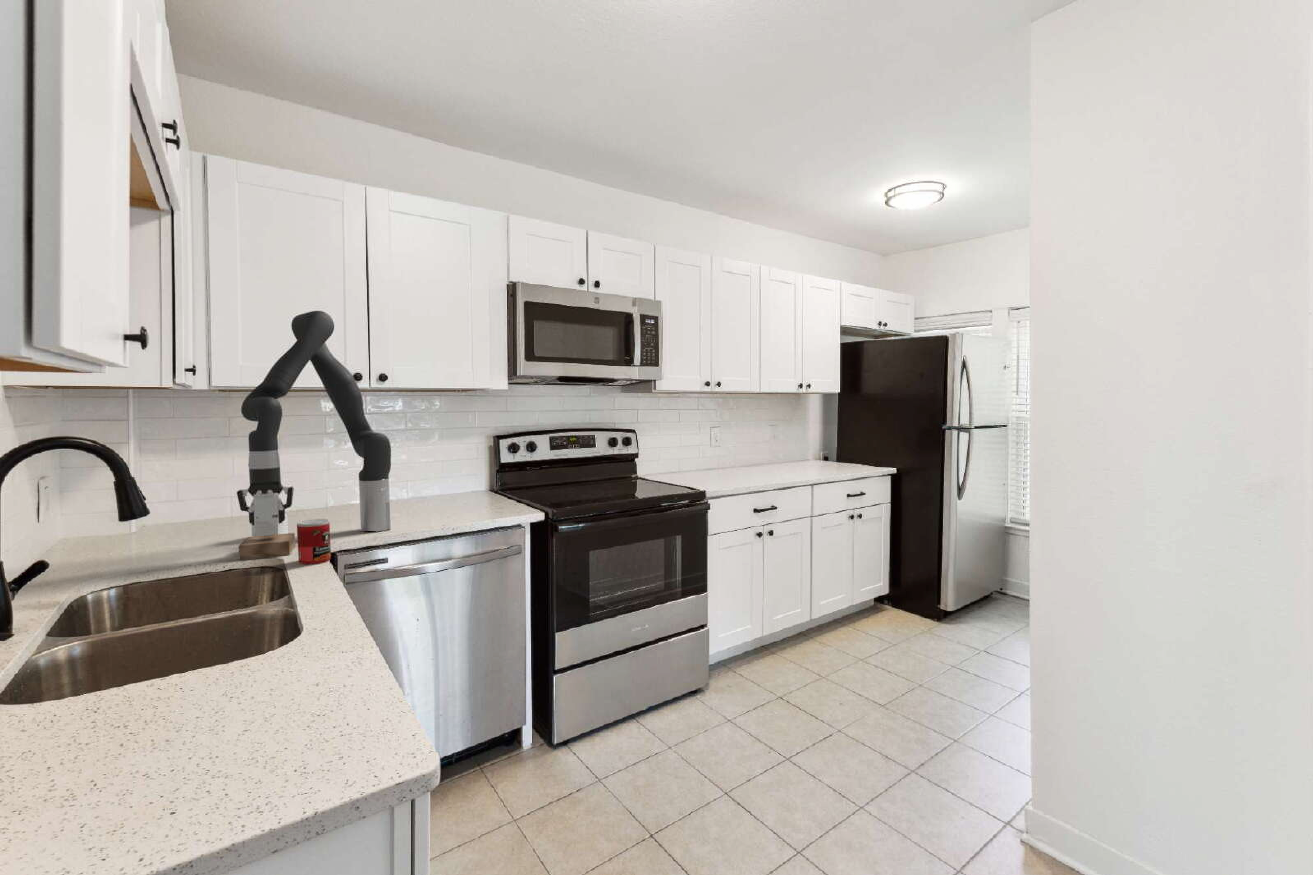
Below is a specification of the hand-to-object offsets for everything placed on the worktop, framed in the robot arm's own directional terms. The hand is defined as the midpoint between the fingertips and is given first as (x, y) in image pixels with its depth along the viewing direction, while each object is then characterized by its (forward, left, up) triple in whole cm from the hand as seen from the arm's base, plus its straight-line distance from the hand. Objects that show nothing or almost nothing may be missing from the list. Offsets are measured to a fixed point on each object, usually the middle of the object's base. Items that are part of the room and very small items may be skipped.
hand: (267, 523), depth 174 cm
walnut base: (0, 0, -8) cm, 8 cm away
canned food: (-13, +17, -9) cm, 23 cm away
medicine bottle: (+3, -23, -9) cm, 25 cm away
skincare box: (0, 0, -3) cm, 3 cm away
